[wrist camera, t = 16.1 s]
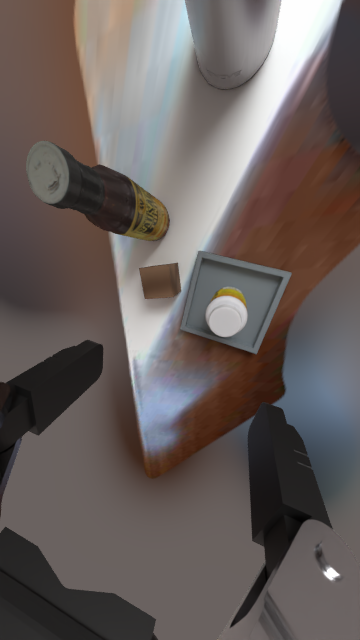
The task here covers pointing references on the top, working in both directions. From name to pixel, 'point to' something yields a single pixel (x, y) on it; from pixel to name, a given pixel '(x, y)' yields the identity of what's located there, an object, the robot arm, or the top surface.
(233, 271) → the tray
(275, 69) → the top surface
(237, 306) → the supplement bottle
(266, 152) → the top surface
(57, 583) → the robot arm
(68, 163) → the sauce bottle
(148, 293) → the walnut block
